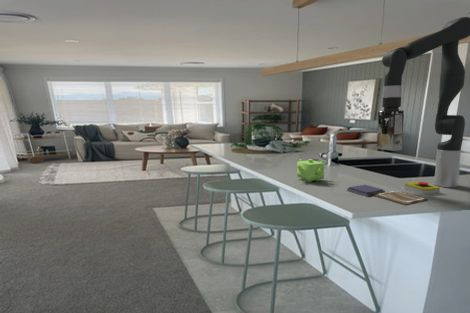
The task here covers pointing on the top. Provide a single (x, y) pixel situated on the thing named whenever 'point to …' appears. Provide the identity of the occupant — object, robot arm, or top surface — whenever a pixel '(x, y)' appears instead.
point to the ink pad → (365, 190)
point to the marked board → (401, 197)
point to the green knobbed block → (310, 170)
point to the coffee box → (391, 133)
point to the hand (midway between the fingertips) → (389, 133)
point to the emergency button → (422, 188)
